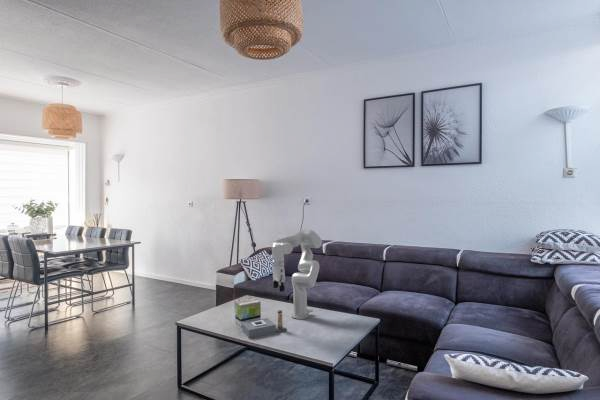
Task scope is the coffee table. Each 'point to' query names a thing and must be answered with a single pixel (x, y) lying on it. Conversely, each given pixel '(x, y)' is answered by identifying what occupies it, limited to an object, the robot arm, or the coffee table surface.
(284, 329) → the coaster
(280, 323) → the stylus
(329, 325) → the coffee table surface
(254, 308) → the tea box
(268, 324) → the grey socket block
